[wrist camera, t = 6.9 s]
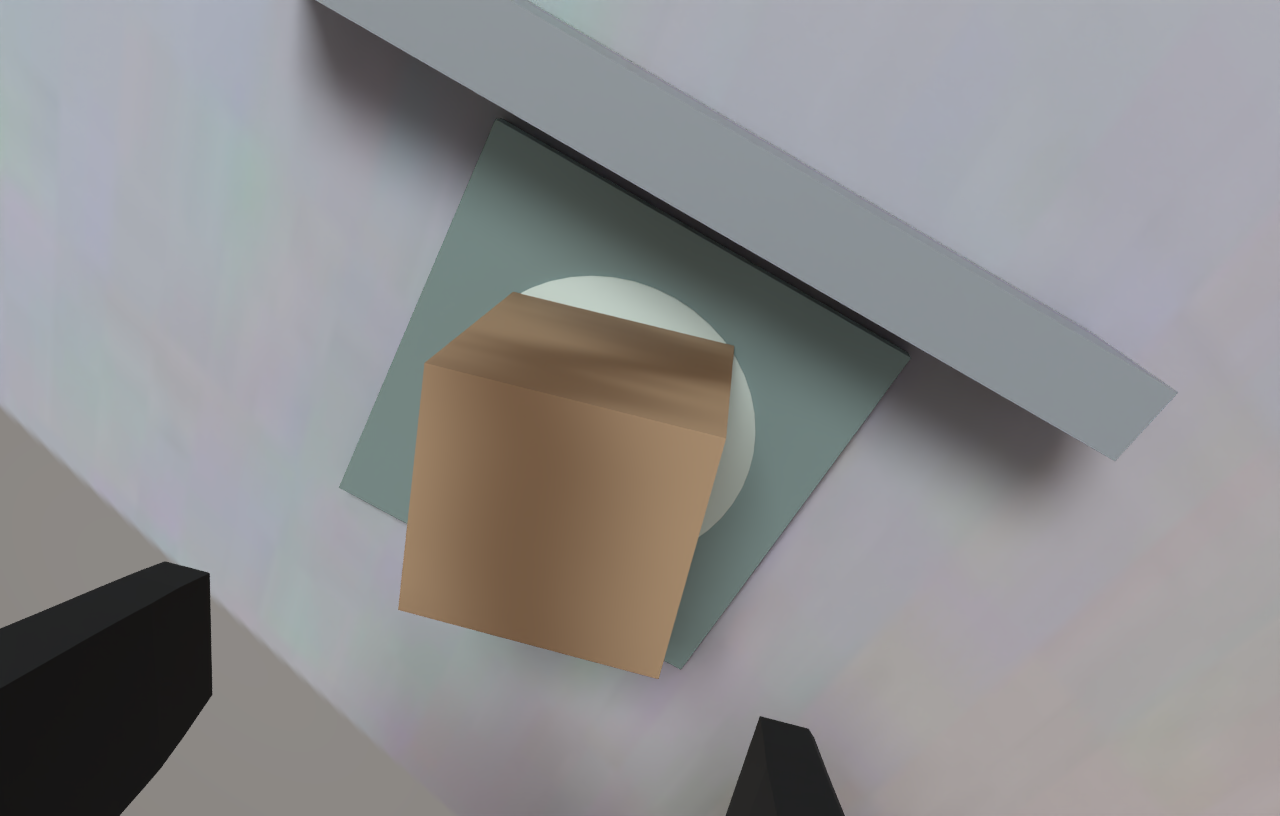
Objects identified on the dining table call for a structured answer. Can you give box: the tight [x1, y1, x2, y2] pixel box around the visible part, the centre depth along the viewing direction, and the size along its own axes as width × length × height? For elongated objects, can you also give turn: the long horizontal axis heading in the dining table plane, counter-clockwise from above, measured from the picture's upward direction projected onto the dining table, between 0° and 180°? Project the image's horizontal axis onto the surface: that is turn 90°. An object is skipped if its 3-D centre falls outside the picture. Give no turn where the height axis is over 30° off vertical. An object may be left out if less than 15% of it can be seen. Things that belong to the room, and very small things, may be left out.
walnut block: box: [398, 292, 734, 679], centre depth 16 cm, size 5×5×5 cm
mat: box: [339, 118, 911, 669], centre depth 18 cm, size 10×10×1 cm
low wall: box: [316, 0, 1178, 461], centre depth 14 cm, size 18×2×4 cm, turn 63°
